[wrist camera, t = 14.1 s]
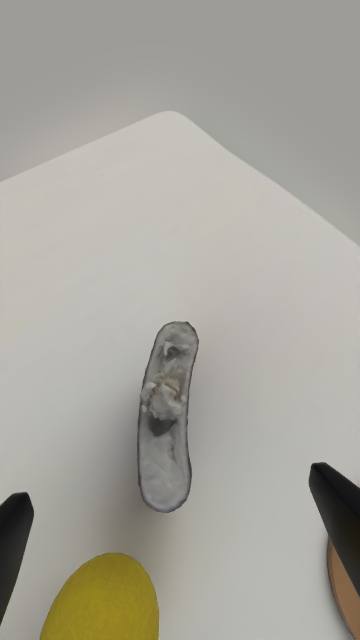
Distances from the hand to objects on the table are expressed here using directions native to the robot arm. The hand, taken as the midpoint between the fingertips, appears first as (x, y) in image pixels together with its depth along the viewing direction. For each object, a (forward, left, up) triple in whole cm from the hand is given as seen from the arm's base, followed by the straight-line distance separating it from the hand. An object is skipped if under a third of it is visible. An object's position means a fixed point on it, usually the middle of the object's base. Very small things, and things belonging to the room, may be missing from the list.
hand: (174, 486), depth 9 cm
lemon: (-1, +8, -13) cm, 15 cm away
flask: (+2, -3, -13) cm, 13 cm away
